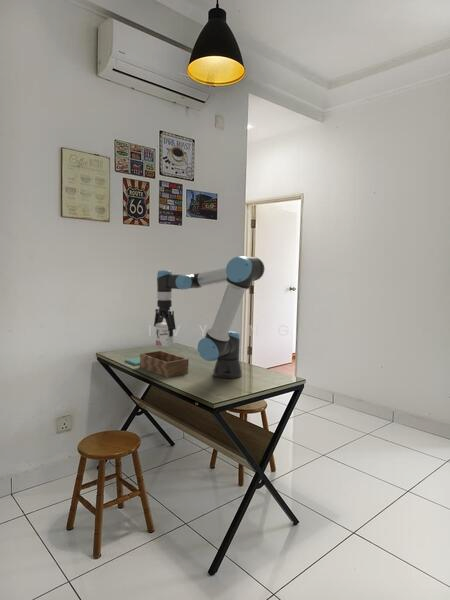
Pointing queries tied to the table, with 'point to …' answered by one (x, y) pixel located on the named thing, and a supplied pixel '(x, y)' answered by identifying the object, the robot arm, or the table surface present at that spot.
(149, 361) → the crate
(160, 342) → the ink box
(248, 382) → the table surface
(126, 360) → the zone mat
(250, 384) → the table surface
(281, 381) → the table surface
